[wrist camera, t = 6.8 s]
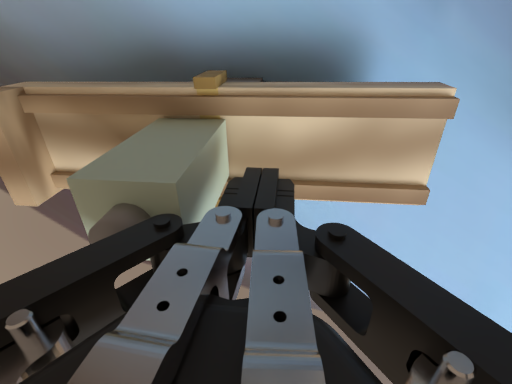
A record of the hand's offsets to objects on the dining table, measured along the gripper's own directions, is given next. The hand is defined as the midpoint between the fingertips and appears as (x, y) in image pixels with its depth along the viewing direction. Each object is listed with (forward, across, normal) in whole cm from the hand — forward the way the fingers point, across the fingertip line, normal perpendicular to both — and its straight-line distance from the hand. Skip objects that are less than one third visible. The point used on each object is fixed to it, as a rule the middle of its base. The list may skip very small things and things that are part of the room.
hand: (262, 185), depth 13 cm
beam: (+11, +4, 0) cm, 11 cm away
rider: (+4, +5, 0) cm, 6 cm away
